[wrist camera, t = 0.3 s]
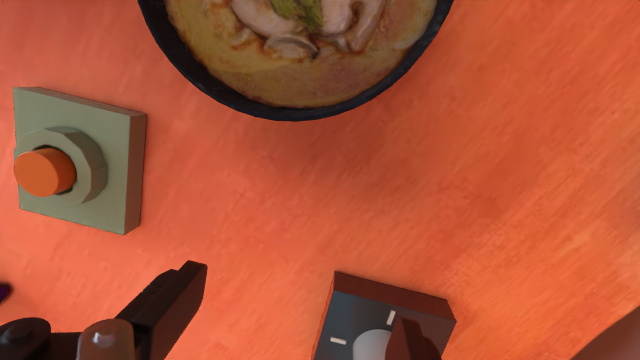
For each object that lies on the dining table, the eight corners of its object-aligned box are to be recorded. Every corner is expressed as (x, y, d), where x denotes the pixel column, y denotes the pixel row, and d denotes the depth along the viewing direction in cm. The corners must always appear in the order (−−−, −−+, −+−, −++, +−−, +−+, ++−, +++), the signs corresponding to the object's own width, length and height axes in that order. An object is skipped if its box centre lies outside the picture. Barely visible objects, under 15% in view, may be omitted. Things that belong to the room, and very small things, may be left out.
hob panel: (334, 270, 30) (333, 291, 27) (446, 299, 30) (457, 323, 27) (311, 351, 33) (308, 377, 30) (413, 377, 33) (420, 406, 30)
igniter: (34, 142, 25) (11, 146, 23) (77, 153, 25) (57, 158, 23) (35, 184, 26) (14, 191, 24) (77, 195, 26) (58, 202, 24)
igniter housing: (37, 86, 28) (-13, 86, 24) (147, 113, 27) (114, 118, 24) (41, 200, 31) (-3, 216, 27) (139, 225, 31) (109, 245, 27)
